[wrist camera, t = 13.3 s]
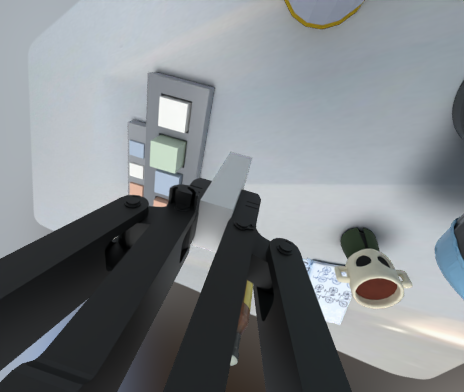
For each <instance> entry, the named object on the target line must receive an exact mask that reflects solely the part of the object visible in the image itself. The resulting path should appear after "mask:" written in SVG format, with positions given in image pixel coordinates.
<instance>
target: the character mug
mask: <svg viewBox="0 0 464 392" xmlns="http://www.w3.org/2000/svg"><path fill="white" fill-rule="evenodd" d="M363 231H364V233H362V232H359V230H358V228H354V229H351V230H348V231H347V232H346V233H344V234H343V236H342V238H341V247H342V249H343V251H344V253H345V255H346V257H347V259H348V260H347V262H346V265H345V266H335V268H334V270H335V275H336V279H337V280H338V282H342V283H349V285H350V289H351V293H352V296H353V298H354V299H355V300H356V302H357V303H359V304H361V305H362V306H364V307H368V308H372V309H384V308H387V307H391V306H394V305H395V304H397V303H398V302H400V301H401V299H402V298H403V297H404V288H411V287H412V282H411V281H410V279H409V277H408V275H407V273H406V272H405V271H402V270H395V268H394V266H393V264H392V262H391V260H389V258H388V257H387V256H386V255H384V254H383V253H381V252H380V251H379V247H378V243H377V240H376V237H375V235H374V234H373V233H372V232H371V231H370V230H368V229H365V228H363ZM341 272H346V274H347V277H346V276H342V274H341ZM398 276H400V277H401V278H402V280H403V281H400V279H399V277H398Z"/></svg>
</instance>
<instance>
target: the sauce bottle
mask: <svg viewBox="0 0 464 392" xmlns="http://www.w3.org/2000/svg"><path fill="white" fill-rule="evenodd" d="M252 290H253V283H251V282H249V281H248V280H247V281H246V286H245V291H244V296H243V301H242V307H241V312H240V317H239V322H238V327H237V332H236V338H235V343H234V348H233V353H232V358H231V363H230V365H235V364H237V362H238V357H239V353H238V348H239V341H240V337H241V335H242V334H243V332H244V331H245V329H246V327H247V326H248V320H249V314H250V307H251V299H252Z"/></svg>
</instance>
